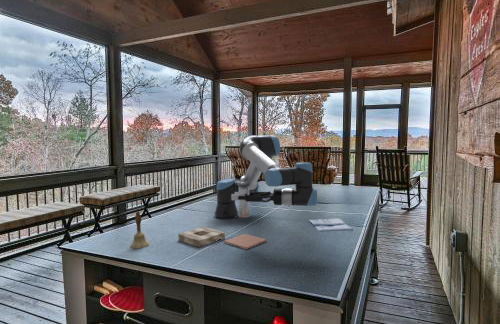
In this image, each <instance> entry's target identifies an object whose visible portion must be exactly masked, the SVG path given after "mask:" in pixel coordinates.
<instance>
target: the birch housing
mask: <svg viewBox="0 0 500 324" xmlns="http://www.w3.org/2000/svg"><path fill="white" fill-rule="evenodd" d="M225 234H226V233H225V231H221V230H218V229H214V228H210V227H207V226H201V227H199V228H194V229H191V230H187V231H185V232H180V233H178V234H177V236H178V237H177V238H178V241H180V242H183V243H186V244H189V245H192V246H194V247H197V246H198V248H201V247H204V246H207V245H209V244H208V243H210V244H212V243H211V242H213V243H215V242H214V241H216V240H219V239H221V240H223V239H222V238H224V239H225V238H226V235H225ZM219 241H220V240H219ZM216 242H217V241H216ZM206 244H207V245H206ZM203 245H204V246H203ZM200 246H201V247H200Z"/></svg>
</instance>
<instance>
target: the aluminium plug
mask: <svg viewBox="0 0 500 324" xmlns="http://www.w3.org/2000/svg"><path fill="white" fill-rule="evenodd" d="M237 185H239V194H245V193H246V195H249V185H251V182H237ZM250 205H251V203H250V202H246V201H245V200H238V217H239V218H243V219H244V218H249V217H251V210H250V207H251V206H250Z"/></svg>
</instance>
